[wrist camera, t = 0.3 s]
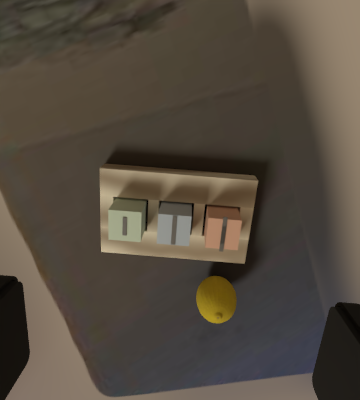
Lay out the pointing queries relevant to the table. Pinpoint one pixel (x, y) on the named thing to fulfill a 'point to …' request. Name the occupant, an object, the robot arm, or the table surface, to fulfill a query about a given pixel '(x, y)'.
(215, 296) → the lemon
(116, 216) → the key sage
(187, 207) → the key slate
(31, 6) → the table surface
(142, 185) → the keypad board
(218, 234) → the key terracotta
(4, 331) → the robot arm
